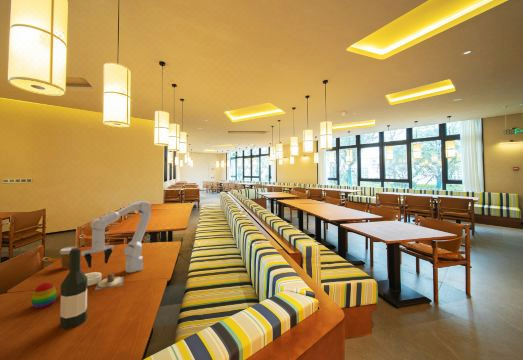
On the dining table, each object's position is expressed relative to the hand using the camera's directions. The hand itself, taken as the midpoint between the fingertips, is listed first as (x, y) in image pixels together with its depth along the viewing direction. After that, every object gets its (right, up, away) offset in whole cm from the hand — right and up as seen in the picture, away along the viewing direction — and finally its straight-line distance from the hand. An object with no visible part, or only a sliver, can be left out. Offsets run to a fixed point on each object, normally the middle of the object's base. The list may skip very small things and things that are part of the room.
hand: (98, 265), depth 122 cm
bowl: (-4, -10, -1) cm, 11 cm away
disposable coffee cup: (-33, -9, +20) cm, 40 cm away
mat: (+8, -10, -1) cm, 13 cm away
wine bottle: (+15, -11, -33) cm, 37 cm away
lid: (+8, -9, -1) cm, 12 cm away
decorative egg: (-9, -10, -22) cm, 25 cm away
